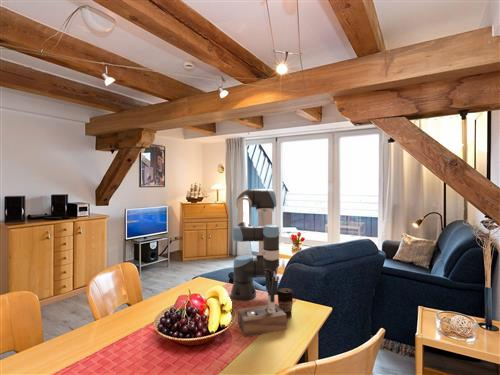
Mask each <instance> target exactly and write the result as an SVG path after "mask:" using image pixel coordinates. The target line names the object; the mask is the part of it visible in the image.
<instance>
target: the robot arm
mask: <svg viewBox="0 0 500 375" xmlns="http://www.w3.org/2000/svg"><path fill="white" fill-rule="evenodd" d="M235 204H236V205H235V206H236V208H237V213H236V215H237V220H236V226H233V228H232V240H233V241H234V242H241V243H242V242H258V252H257V253H256V257H254V256H253V255H251V254H243V255H239V256H236V257H235V258H234V259H233V266H232V267H233V284H232V288H231V290H230V296H231V298H232V299H235V300H236V301H237V300H238V301H249V300H252V299H255V297H256V296H257V290H256V288H255V287H256V286H255V285H254V279H264V280H265V289H266V292H267V305H268V308H269V309H271V308H275V304H276V303H275V299H276V298H275V296H278V295H277V292H278V285H279V279H280V277H279V276H277V275H278V271H279V267H280V227H279V225H278V224H277V225H276V224H273V212H274V211H275V208H276V207H277V197H276V191H275V190H274V189H272V188H250V189H245V190H244V191H242V192H241V193H240V194H239V195H238V196H237V198H236V202H235ZM251 208H255V211H256V212H257V213H258V214H257V216H258V217H257V218H258V220H257V221H258V225H257V226H252V214H251V212H252V211H251Z"/></svg>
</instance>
